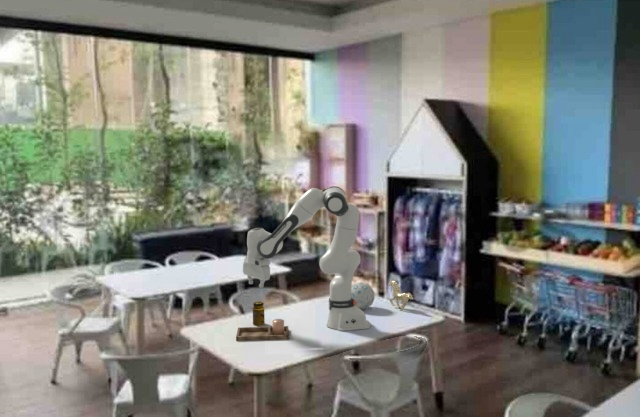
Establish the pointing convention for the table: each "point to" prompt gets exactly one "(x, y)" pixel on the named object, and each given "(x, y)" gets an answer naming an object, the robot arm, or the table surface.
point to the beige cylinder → (278, 327)
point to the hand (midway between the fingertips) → (256, 285)
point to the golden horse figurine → (399, 295)
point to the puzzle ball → (362, 295)
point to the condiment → (258, 314)
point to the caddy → (260, 333)
